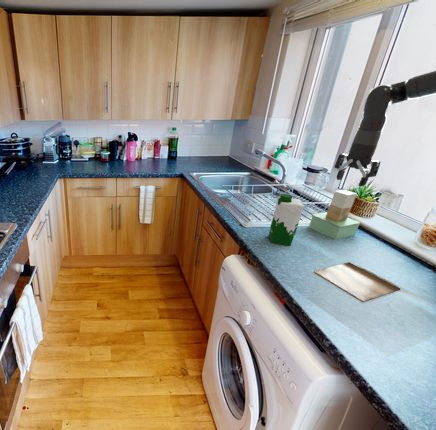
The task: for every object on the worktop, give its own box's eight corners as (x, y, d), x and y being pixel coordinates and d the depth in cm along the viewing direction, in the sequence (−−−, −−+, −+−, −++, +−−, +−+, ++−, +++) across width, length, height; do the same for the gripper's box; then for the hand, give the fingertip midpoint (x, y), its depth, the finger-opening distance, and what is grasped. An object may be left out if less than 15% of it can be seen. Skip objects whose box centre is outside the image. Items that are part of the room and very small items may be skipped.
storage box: (325, 226, 133) (331, 211, 130) (354, 239, 123) (361, 222, 119) (306, 230, 129) (311, 214, 126) (333, 244, 119) (340, 226, 115)
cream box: (339, 202, 123) (344, 189, 121) (351, 207, 119) (356, 193, 116) (330, 204, 121) (335, 190, 119) (342, 208, 117) (347, 195, 115)
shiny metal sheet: (348, 263, 106) (349, 262, 106) (400, 289, 92) (400, 288, 92) (313, 272, 100) (314, 271, 100) (363, 302, 87) (363, 301, 87)
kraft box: (334, 215, 126) (339, 202, 123) (346, 220, 121) (351, 207, 119) (325, 217, 124) (330, 204, 121) (337, 221, 120) (342, 208, 117)
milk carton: (266, 234, 125) (278, 191, 117) (289, 237, 123) (303, 194, 115) (269, 243, 118) (282, 198, 110) (293, 247, 115) (308, 201, 107)
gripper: (393, 145, 104) (375, 187, 111) (352, 138, 116) (338, 177, 123) (379, 146, 102) (362, 189, 109) (339, 139, 114) (326, 178, 121)
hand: (349, 182), depth 116 cm, fingers open, 8 cm apart
